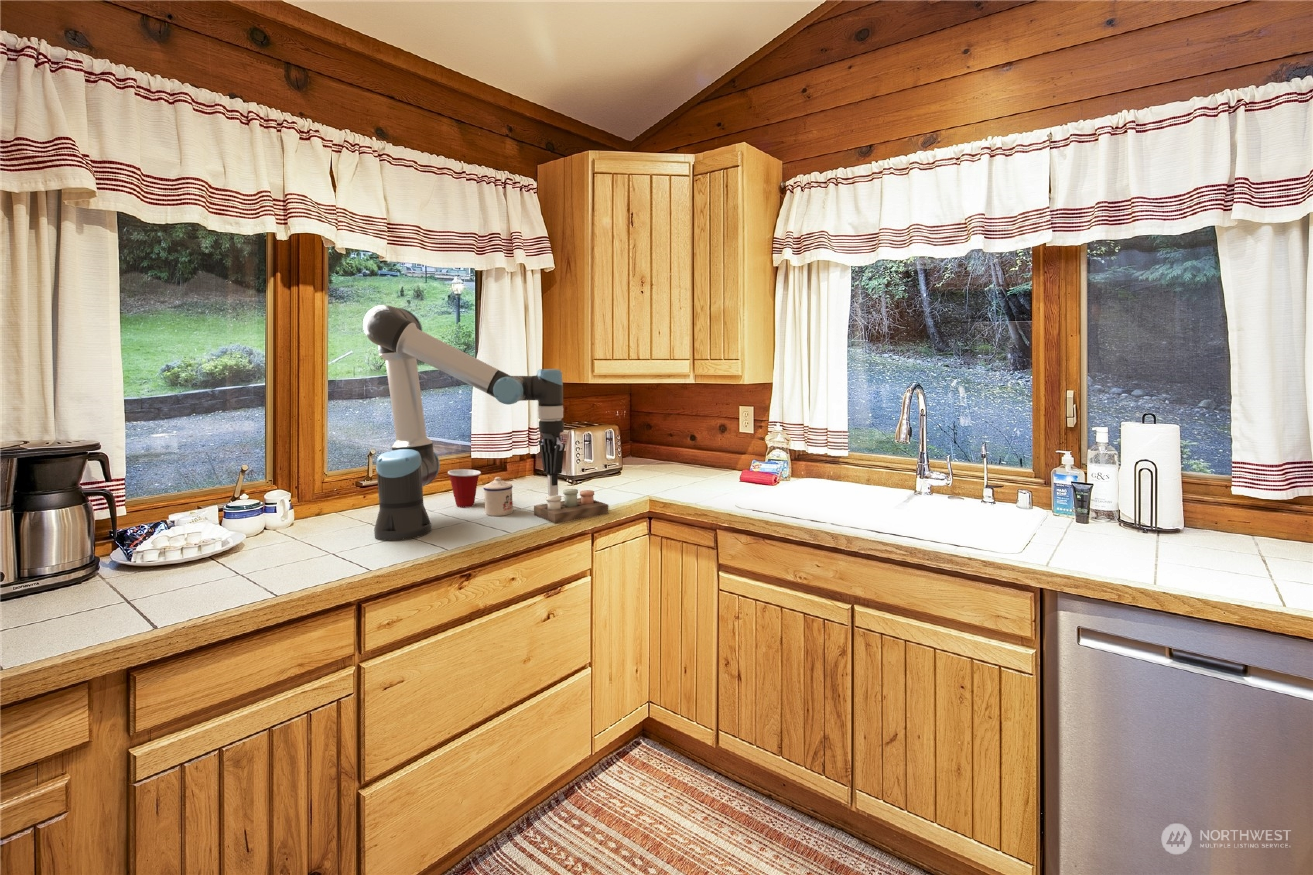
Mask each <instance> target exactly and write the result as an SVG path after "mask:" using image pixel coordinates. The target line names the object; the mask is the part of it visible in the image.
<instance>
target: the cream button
mask: <svg viewBox="0 0 1313 875" xmlns="http://www.w3.org/2000/svg"><path fill="white" fill-rule="evenodd" d="M560 501H562V496H561V495H555V496H548V495H547V496H546V502H547V503H546V504H548V510H550V511H553V510H558V509H561V502H560Z"/></svg>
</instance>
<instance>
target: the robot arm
mask: <svg viewBox="0 0 1313 875" xmlns="http://www.w3.org/2000/svg"><path fill="white" fill-rule="evenodd" d="M362 326H363V331H364V334H365V335H366V337H367V338H368V340H369V341H371V342H372V343H373V344H375V345H376V346H377V352H378V355H379V357H380V358H382V359H383V360H384V361H385V367H386V368H385V369H386V373H387V374H386V375H387V382H388V389H389V395H390V404H391V411H392V418H393V426H394V433H395V439H396V440H395V441H394V442H393V444H392V446H391V451H385V452H384V453H383V452H382V453H381V454H379V456H378V457H377V459H376V466H375V471H376V479H377V480H376V481H377V493H378V503H379V504H378V505H379V509H378V513H377V517H376V522H375V524H374V530H373V531H374V532H373V534H374V538H376V539H378V540H382V541H404V540H409V539H416V538H420V537H423V536H427V535H428V534H430V533H431V532H432V530H433V529H432V522H431V519H430V517H429V515H428V514H429V513H428V512H427V510H426V508H425V502H424V491H423V490H424V488H423V487H425V486H427V485H429V484H430V483H432V482H433V481H434V480H435V479H436V477H437V475H438V473H439V471H440V458H439V457H438V455H437V453H436V452H435V451H434V444H433V441H432V440H431V439H430V438H428V436H427V431H426V423H425V417H424V416H425V415H424V408H423V401H422V393H421V384H420V379H419V371H418V370H419V369H418V361H421V362H422V363H425V364H427V365H428V366H430V367H433V368H435V369H437V370H438V371H441V372H443V373H445V374H447V375H449V376H451V377H453V378H455V379H457V380H459V381H462V382H463V383H465V384H467V385H470V386H472V387H474V388H476V389H477V390H480V391H481V392H483V393H485V394H488V395H489V396H491V397H493V398H495V399H496V400H497V401H498V402H499V403H501V404H503V405H504V404H505V405H514V404H517V403H518V402H520V401H521V402H522V401H523V402H524V401H537V403H538V404H537V412H538V414H537V415H538V416H537V417H538V419H539V421H538V432H539V433H540V434H542V439H540V440H539V441H538V444H539V448H540V454H541V455H540V456H541V462H542V470H543V472H545V474H546V475H547V497H548V496H555V495H556V496H559V483H558V482H559V480H558V478H559V475H560V474H562V472H563V464H564V452H565V448H566V444H565V443H562V442H561V440H562V439H561V435H560V434H561V433H563V432H564V431H565V427H564V425H565V424H564V420H562V419H563V418H564V410H565V409H564V383H563V382H564V381H563V372H562V370H560V369H558V368H555V369H554V368H546V369H543V368H542V369H541V368H539V369H538V370H537V372H536V373H537V374H536V375H510V374H508V373H506V372H504V371H502V370H499V369H498V368H496V367H494V366H492V365H490V364H489V363H486V362H484V361H482V360H480V359H478V358H476V357H474V356H472V355H470V354H468V353H466V352H464V351H462V350H460V349H458V348H456V347H454V346H452V345H450V344H448V343H447V342H444V341H442V340H440V339H438V338H437V337H434V336H432V335H431V334H428V333H427V332H425V331H423V326H422V323H421V321H420V320H419V317H417V316H416V315H415V314H413V313H412V312H411V311H409V310H408V309H405V308H403V307H395V306H392V305H387V304H382V305H377V306H374V307H372V308H371V309H369V310H368V311H367V312H366V313H365V316H364V318H363V323H362ZM417 360H418V361H417Z"/></svg>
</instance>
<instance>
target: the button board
mask: <svg viewBox="0 0 1313 875" xmlns="http://www.w3.org/2000/svg"><path fill="white" fill-rule="evenodd" d="M593 500H594V503H593V504H587V505H584V504H581V497H579V498H578V497H577V506H575V507H570V508H567V507H565V500H561V501H560V502H561V509H558V510H553V511H550V510H548V503H544V504H536V505H533V515H534V516H535V517H538V518H541V519H542V520H545V521H548V522H550V523H553V524H554V525H555V524H556V525H557V524H561V523H567V522H573V521H578V520H582V519H588V518H594V517H598V516H603V515H609V504H608V503H604V502H601V501H598V500H596V499H593Z"/></svg>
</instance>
